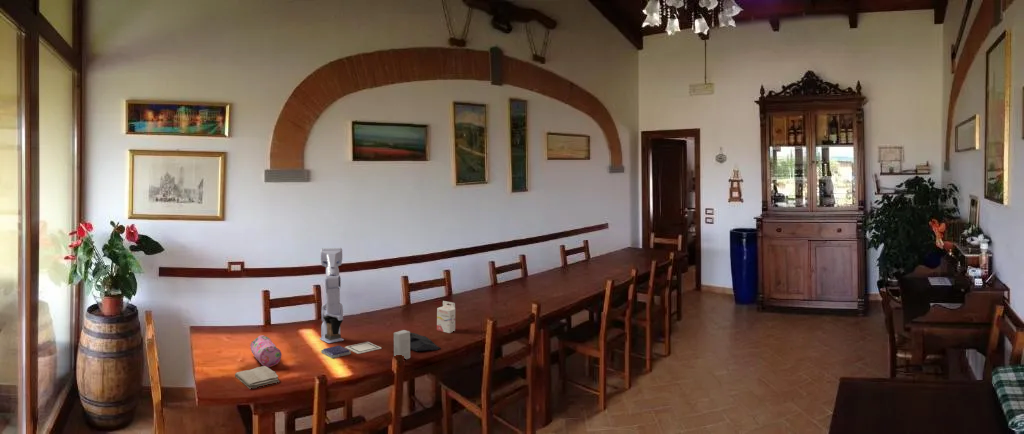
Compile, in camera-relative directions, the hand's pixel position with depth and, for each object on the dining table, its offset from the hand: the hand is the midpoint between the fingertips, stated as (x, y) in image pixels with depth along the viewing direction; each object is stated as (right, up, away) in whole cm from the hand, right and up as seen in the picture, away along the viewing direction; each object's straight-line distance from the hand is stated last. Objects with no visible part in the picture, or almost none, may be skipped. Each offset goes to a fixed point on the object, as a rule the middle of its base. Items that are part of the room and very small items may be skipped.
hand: (333, 333), depth 264 cm
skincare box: (+31, -11, -4) cm, 33 cm away
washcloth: (-20, -13, -32) cm, 40 cm away
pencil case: (-26, -10, -10) cm, 30 cm away
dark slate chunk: (+35, -9, +15) cm, 40 cm away
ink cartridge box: (+46, -7, +40) cm, 61 cm away
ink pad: (+1, -9, +1) cm, 9 cm away
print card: (+11, -9, +9) cm, 17 cm away
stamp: (0, -2, 0) cm, 2 cm away
